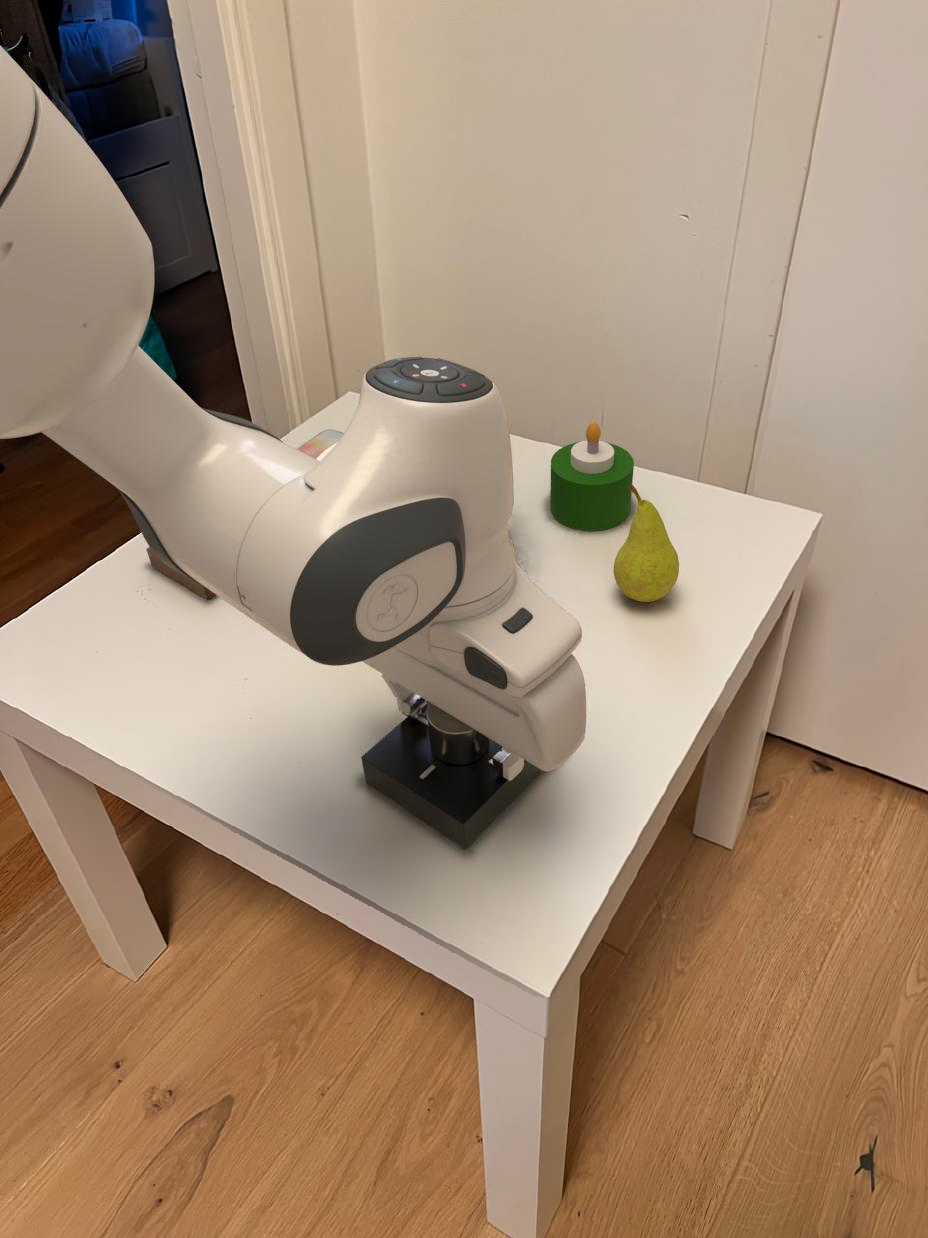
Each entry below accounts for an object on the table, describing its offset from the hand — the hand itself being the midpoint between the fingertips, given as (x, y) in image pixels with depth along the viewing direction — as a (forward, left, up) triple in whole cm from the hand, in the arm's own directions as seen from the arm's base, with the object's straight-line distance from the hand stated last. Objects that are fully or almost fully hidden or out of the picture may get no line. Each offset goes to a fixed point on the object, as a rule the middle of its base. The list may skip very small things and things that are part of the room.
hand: (459, 740), depth 70 cm
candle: (+35, +12, -4) cm, 37 cm away
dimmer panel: (0, 0, -3) cm, 3 cm away
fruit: (+26, 0, -4) cm, 26 cm away
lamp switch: (+7, +37, -3) cm, 38 cm away
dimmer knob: (0, 0, 0) cm, 0 cm away
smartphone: (+27, +38, -3) cm, 47 cm away
